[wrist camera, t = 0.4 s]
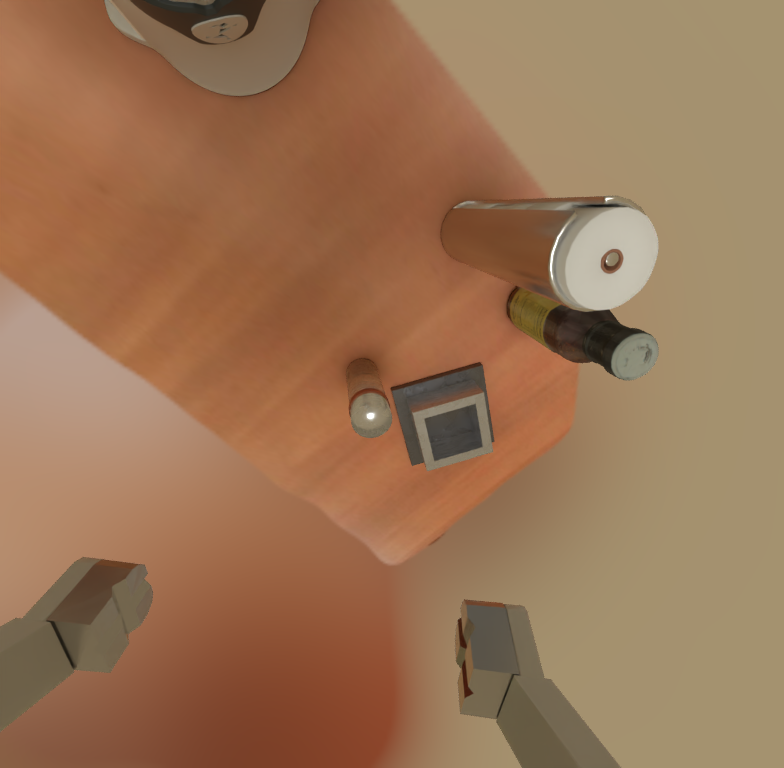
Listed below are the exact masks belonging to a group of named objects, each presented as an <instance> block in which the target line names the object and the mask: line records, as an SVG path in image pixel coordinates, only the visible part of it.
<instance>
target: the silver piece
mask: <svg viewBox="0 0 784 768" xmlns="http://www.w3.org/2000/svg"><path fill="white" fill-rule="evenodd" d="M441 240H442V244H443V247H444V249H445V251H446V252H447V253H448V255H449V256H450V257H451V258H453V259H455V260H457V261H459V262H461V263H464V264H466V265H468V266H471V267H473V268H475V269H478V270H480V271H483V272H485V273H487V274H490V275H492V276H494V277H497V278H499V279H502V280H504V281H506V282H509V283H511V284H513V285H516V286H518V287H521V288H523V289H525V290H528V291H530V292H532V293H535V294H537V295H540V296H542V297H544V298H547V299H549V300H551V301H554V302H556V303H559V304H561V305H563V306H566V307H568V308H570V309H573V310H578V311H583V312H589V311H598V310H608V309H612V308H614V307H617V306H620V305H622V304H623V303H625V302H626V301H628V300H629V299H631V298H632V297H633V296H634V295H635V294H637V293H638V292H639V291H640V290H641V289H642V288H643V286H644V285H645V283H646V282H647V280H648V279H649V277H650V275H651V272H652V270H653V268H654V265H655V262H656V258H657V254H658V237H657V234H656V231H655V228H654V226H653V225H652V223H651V221H650V220H649V218H648V217H647V216H646V214H645V213H644V211H643V210H642V208H641V207H640V206H638V205H637V204H636V203H634V202H633V201H631V200H630V199H626V198H623V197H619V196H596V197H567V198H538V199H509V200H480V201H465V202H462V203H459V204H458V205H456V206H455V207H453V208H452V209H451V210H450V211H449V213H448V214H447V215H446V217H445V219H444V221H443V224H442V228H441Z"/></svg>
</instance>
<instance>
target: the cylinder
mask: <svg viewBox="0 0 784 768" xmlns="http://www.w3.org/2000/svg"><path fill="white" fill-rule="evenodd" d="M346 379H347V388H348V397H349V414H350V417H351V423H352V427H353V429H354V430H355V432H356V433H358V434H359V435H361V436H363V437H367V438H374V437H378V436H381V435H382V434H384V433H385V432H386V431H387V430H388V429H389V428H390V426H391V423H392V414H391V411H390V405H389V401H388V399H387V397H386V395H385V392H384V389H383V385H382V382H381V379H380V376H379V373H378V369H377V367H376V365H375V364H374V363H373V362H372V361H370V360H368V359H357V360H355V361H353V362H351V363H350V364H349V366H348V368H347V370H346Z"/></svg>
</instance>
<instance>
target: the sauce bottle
mask: <svg viewBox="0 0 784 768" xmlns="http://www.w3.org/2000/svg"><path fill="white" fill-rule="evenodd" d="M507 309H508V312H507V313H508V316H509V318H510V319H511V321H512V322H513V323H514V325H515V326H516V327H517V328H519V329H520V330H521V331H523V332H524V333H526V334H527V335H529V336H530V337H532V338H533V339H535V340H536V341H538V342H539V343H541V344H542V345H544V346H545V347H547V348H548V349H550V350H551V351H553V352H556V353H557V354H559V355H561V356H562V357H563V358H565V359H567V360H570V361H572V362H576V363H588V362H592V361H593V362H595V363H598V364H600V365H601V366H603V367H604V368H605V370H606V371H607V372H609V373H610V374H612V375H614V376H615V377H617V378H619V379H623V380H634V379H637V378H638V377H641V376H643V375H645V374H646V373H647V372H648V371H649V370H650V369H651V368H652V367H653V366H654V364H655V362H656V360H657V357H658V344H657V342H656V340H655V339H654V337H653V336H652V335H650V334H648V333H646V332H644V331H642V330H640V329H635V328H628V327H626V326H623V325H621V324H620V323H619V322H618V321H617V319H616V318H615V317H614V315H613V314H612V313H611V312H610V310H609V309H608V310H598V311H589V312H583V311H578V310H573V309H570V308H568V307H566V306H563V305H561V304H559V303H556V302H554V301H551V300H549V299H547V298H544V297H542V296H540V295H537V294H535V293H532V292H530V291H528V290H525V289H523V288H521V287H518V288H517V289H516V290H515V291H514V292H513V293H512V294H511V296H510V299H509V302H508V308H507Z"/></svg>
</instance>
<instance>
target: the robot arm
mask: <svg viewBox="0 0 784 768" xmlns="http://www.w3.org/2000/svg"><path fill="white" fill-rule="evenodd" d="M319 1H320V0H104V2H105V6H106V9H107V13H108V16H109V18H110V20H111V22H112V23H113V24H114V25H115V27H116V28H117V29H118V30H119V31H120V32H121V33H122V34H124V35H125V36H127V37H128V38H130V39H132V40H134V41H136V42H138V43H141V44H143V45H145V46H148V47H150V48H153V49H154V50H155V51H157V52H158V53H159V54H161V55H162V56H163V57H164V58H165V59H166V60H167V61H168V62H169V63H170V64H171V65H172V66H173V67H175V68H176V69H177V70H178V71H179V72H180V73H181V74H183V75H184V76H185V77H187V78H188V79H190V80H191V81H193V82H194V83H196V84H198V85H199V86H201V87H203V88H206V89H208V90H210V91H213V92H216V93H220V94H224V95H230V96H246V95H252V94H257V93H260V92H262V91H265V90H267V89H269V88H271V87H272V86H274V85H276V84H277V83H278V82H280V81H281V80H282V79H283V78H284V77H285V76H286V75H287V74H288V73H289V72H290V70H291V69H292V68H293V66H294V65H295V63H296V61H297V60H298V58H299V56H300V54H301V51H302V49H303V46H304V43H305V40H306V37H307V32H308V28H309V23H310V19H311V15H312V12H313V10H314V8H315V6H316V5H317V4H318V2H319ZM147 574H148V573H147V570H146V567H145V565H143V564H134V563H126V562H119V561H110V560H104V559H96V558H86V557H83V558H81V559H79V560H77V561H76V562H74V563H73V564H72V565H71V566H70V567H69V569H68V570H67V571H66V572H65V573H64V574H63V575H62V576H61V577H60V578H59V579H58V580H57V582H55V584H54V585H53V586H52V587H51V588H50V589H49V590H48V591H47V592H46V593H45V594H44V595H43V597H41V599H40V600H39V601H38V602H37V603H36V604H35V605H34V606H33V607H32V608H31V609H30V610H29V611H28V613H27V614H26V615H25V616H24V617H23V618H22V619H21V618H15V619H13V620H11V621H10V622H8V623H6V624H4V625H2V626H1V627H0V732H1V731H2V730H3V729H4V728H6V727H7V726H8V725H9V724H11V723H12V722H13V721H14V720H15V719H17V718H18V717H19V716H20V715H22V714H23V713H24V712H25V711H27V710H28V709H29V708H30V707H32V706H33V705H34V704H35V703H37V702H38V701H39V700H40V699H41V698H43V697H44V696H45V695H46V694H48V693H49V692H50V691H51V690H53V689H54V688H55V687H56V686H58V685H59V684H60V683H61V682H62V681H64V680H65V679H66V678H68V677H69V676H70V675H71V674H72V673H74V670H83V671H95V672H107V673H110V672H111V671H112V669H113V667H114V666H115V664H116V663H117V661H118V660H119V658H120V657H121V655H122V653H123V652H124V650H125V649H126V647H127V646H128V644H129V636H128V635H129V633H130V632H132V631H133V630H135V629H136V628H138V627H139V626H140V625H141V624H142V622H143V621H144V619H145V617H146V616H147V614H148V612H149V608H150V606H151V603H152V598H153V591H152V587H151V585H150V584H149V583H148V582H147V581H146V580H144V578H145V577H146V575H147ZM455 652H456V662H457V664H458V665H459V667H460V668H461V671H460V675H459V679H458V693H459V705H460V714H464V715H471V716H479V717H485V718H491V719H497V724H498V725H499V727H500V729H501V731H502V733H503V734H504V736H505V738H506V740H507V742H508V743H509V745H510V747H511V749H512V751H513V752H514V754H515V756H516V758H517V759H518V761H519V763H520V765H521V767H522V768H621V767H620V766H619V764H618V763H617V762H616V761H615V760H614V758H613V757H612V756H611V754H610V753H609V752H608V751H607V749H606V748H605V747H604V746H603V744H602V743H601V742H600V741H599V739H598V738H597V737H596V735H595V734H594V733H593V732H592V730H591V729H590V728H589V727H588V726H587V724H586V723H585V722H584V720H583V719H582V718H581V717H580V715H579V714H578V713H577V712H576V710H575V709H574V708H573V707H572V705H571V704H570V703H569V702H568V700H567V699H566V698H565V697H564V695H563V694H562V693H561V691H560V690H559V689H558V688H557V686H556V685H555V684H554V683H553V682H552V680H551V679H545V678H544V674H543V671H542V667H541V663H540V659H539V655H538V651H537V648H536V643H535V640H534V636H533V632H532V629H531V624H530V620H529V617H528V613H527V610H526V609H525V607H524V606H520V605H509V604H503V603H496V602H485V601H474V600H464V601H463V602H462V605H461V618H460V619H458V621H457V627H456V635H455Z"/></svg>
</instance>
